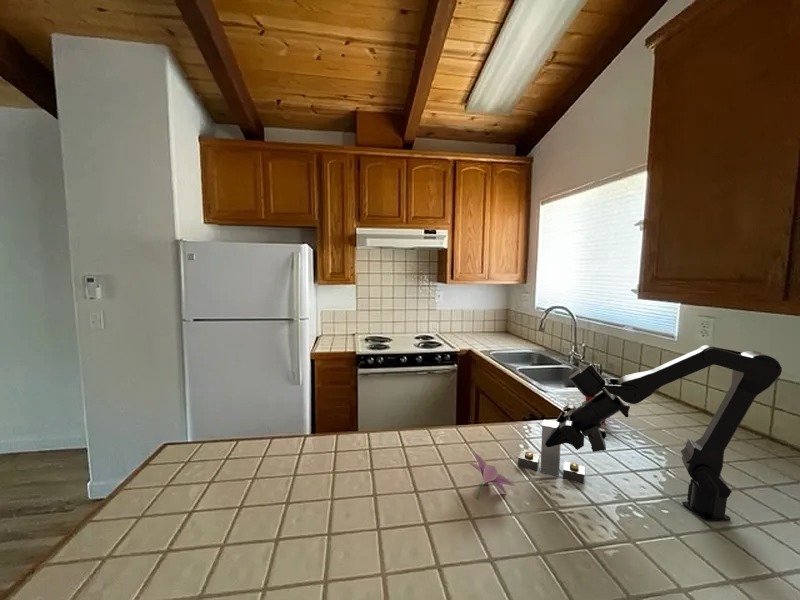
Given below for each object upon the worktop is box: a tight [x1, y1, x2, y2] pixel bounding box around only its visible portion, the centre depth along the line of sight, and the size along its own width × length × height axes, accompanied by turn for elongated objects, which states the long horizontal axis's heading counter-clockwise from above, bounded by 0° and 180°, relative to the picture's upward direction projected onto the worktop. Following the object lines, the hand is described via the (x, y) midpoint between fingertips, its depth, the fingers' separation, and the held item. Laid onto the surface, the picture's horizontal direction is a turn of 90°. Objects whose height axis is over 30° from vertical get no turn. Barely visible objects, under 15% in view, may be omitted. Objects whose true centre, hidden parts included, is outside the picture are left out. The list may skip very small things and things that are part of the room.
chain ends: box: [517, 450, 586, 485], centre depth 102 cm, size 16×5×3 cm, turn 63°
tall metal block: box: [540, 419, 562, 477], centre depth 102 cm, size 4×4×13 cm
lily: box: [468, 450, 517, 500], centre depth 90 cm, size 12×12×10 cm
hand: (547, 441), depth 103 cm, fingers open, 6 cm apart
